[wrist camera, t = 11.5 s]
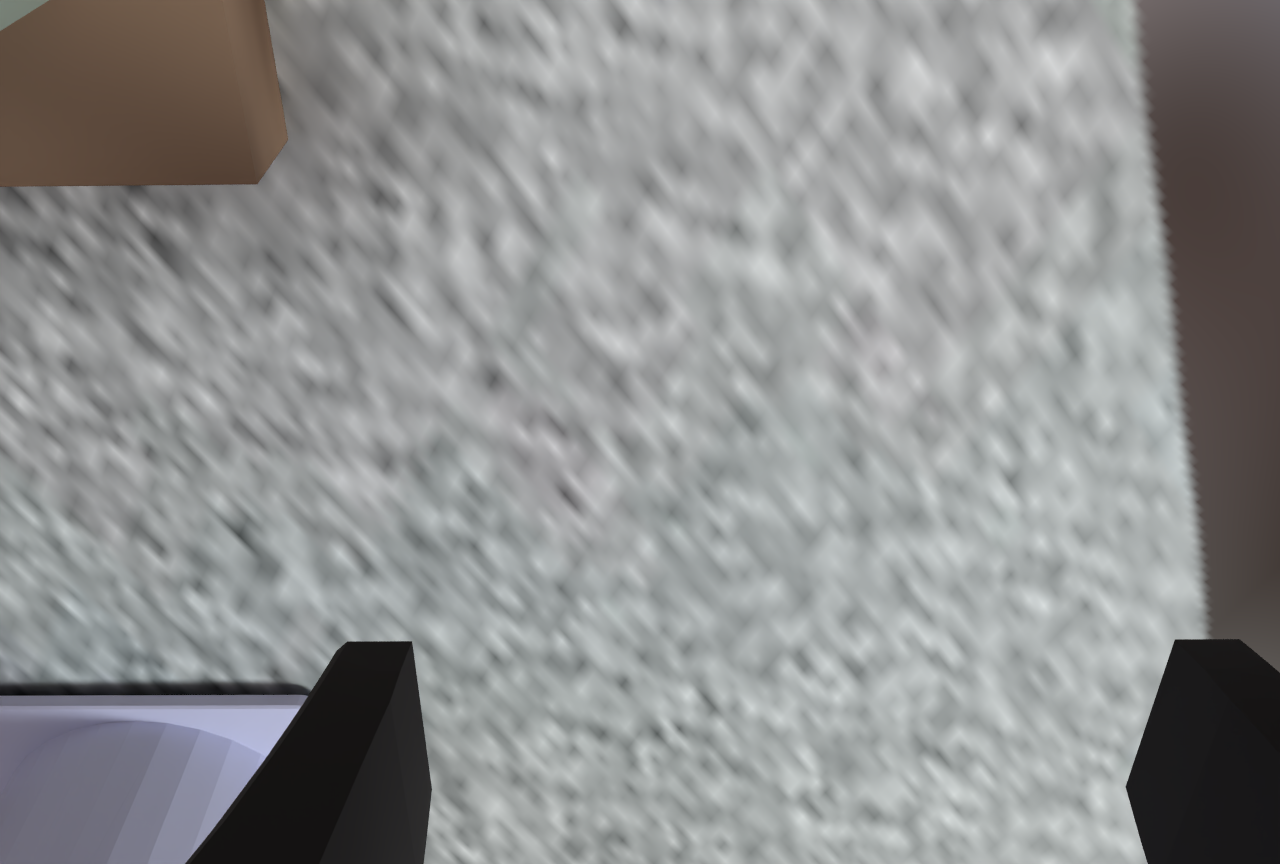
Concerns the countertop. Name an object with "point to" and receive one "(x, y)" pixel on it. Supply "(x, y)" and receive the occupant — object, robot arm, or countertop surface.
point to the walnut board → (139, 94)
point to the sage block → (16, 10)
